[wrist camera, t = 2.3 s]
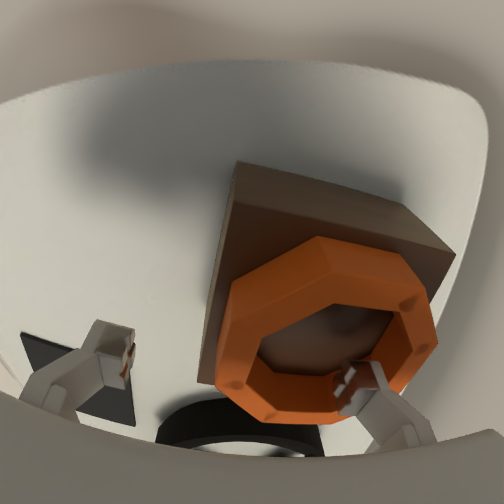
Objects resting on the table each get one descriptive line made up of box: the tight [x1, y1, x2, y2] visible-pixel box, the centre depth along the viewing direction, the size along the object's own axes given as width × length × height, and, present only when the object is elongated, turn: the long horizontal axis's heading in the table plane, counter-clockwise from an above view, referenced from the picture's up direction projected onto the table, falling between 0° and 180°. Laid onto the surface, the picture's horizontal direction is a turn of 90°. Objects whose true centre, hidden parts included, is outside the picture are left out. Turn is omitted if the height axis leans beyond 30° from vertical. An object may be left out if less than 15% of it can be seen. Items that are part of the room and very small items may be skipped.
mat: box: [20, 333, 136, 427], centre depth 25 cm, size 11×11×1 cm
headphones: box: [155, 398, 325, 457], centre depth 27 cm, size 18×8×20 cm
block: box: [197, 161, 456, 385], centre depth 16 cm, size 10×10×6 cm
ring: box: [214, 236, 438, 424], centre depth 12 cm, size 9×9×2 cm
